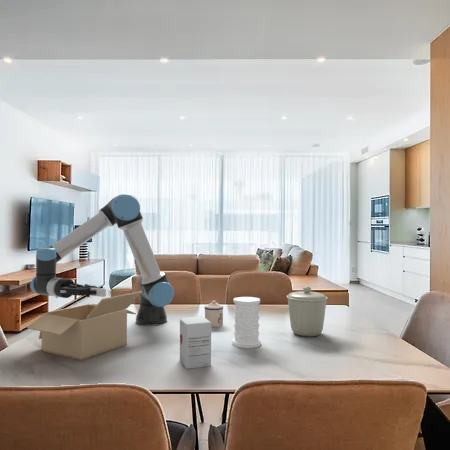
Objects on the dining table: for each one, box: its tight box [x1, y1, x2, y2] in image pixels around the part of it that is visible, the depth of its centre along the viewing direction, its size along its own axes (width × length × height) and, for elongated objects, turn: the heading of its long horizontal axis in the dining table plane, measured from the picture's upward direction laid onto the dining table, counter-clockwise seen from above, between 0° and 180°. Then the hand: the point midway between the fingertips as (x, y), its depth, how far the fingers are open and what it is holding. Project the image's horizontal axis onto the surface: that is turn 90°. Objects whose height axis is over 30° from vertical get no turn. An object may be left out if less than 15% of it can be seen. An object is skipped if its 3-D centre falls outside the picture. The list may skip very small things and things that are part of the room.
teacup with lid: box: [204, 300, 224, 328], centre depth 186 cm, size 12×9×12 cm
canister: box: [286, 285, 329, 337], centre depth 170 cm, size 18×18×21 cm
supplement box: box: [179, 316, 212, 370], centre depth 132 cm, size 9×9×15 cm
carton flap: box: [87, 290, 142, 318], centre depth 141 cm, size 1×20×10 cm
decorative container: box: [231, 296, 262, 349], centre depth 155 cm, size 12×12×18 cm
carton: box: [26, 303, 137, 362], centre depth 149 cm, size 26×37×14 cm
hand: (104, 292), depth 142 cm, fingers closed
